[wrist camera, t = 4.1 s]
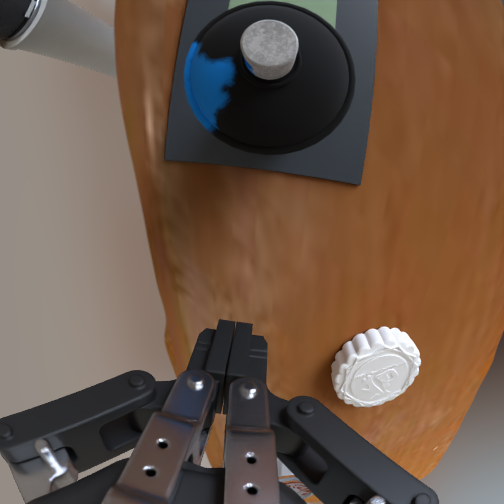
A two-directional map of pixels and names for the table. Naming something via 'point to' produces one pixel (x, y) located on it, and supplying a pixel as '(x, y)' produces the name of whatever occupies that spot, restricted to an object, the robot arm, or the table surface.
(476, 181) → the table surface
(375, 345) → the mooncake
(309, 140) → the aerosol can
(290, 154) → the board
